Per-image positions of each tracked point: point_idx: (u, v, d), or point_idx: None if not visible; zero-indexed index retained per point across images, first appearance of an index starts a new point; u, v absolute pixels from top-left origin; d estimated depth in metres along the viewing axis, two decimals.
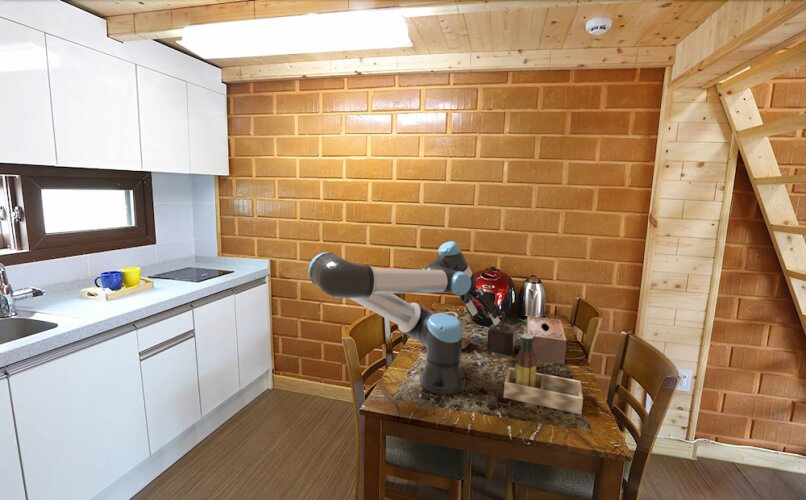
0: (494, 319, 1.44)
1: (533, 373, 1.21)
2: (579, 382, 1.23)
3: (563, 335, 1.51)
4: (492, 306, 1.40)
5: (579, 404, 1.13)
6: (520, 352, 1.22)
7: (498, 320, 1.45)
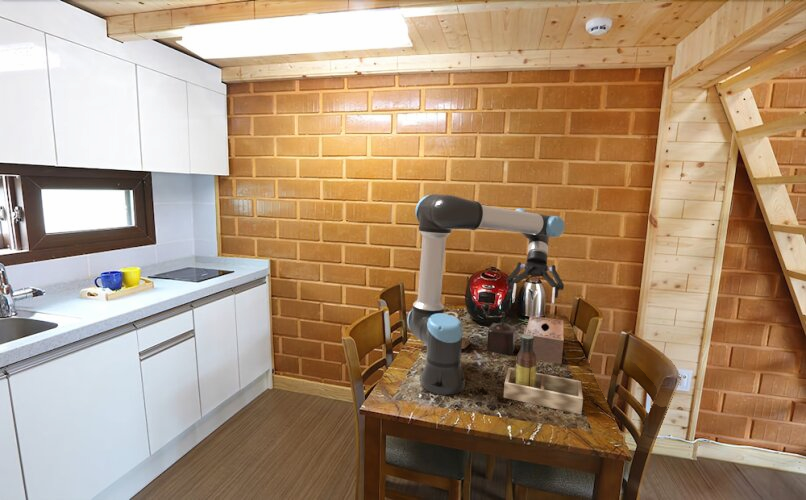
0: (554, 297, 1.35)
1: (533, 373, 1.21)
2: (579, 382, 1.23)
3: (561, 335, 1.51)
4: None
5: (579, 404, 1.13)
6: (520, 352, 1.22)
7: (553, 303, 1.35)
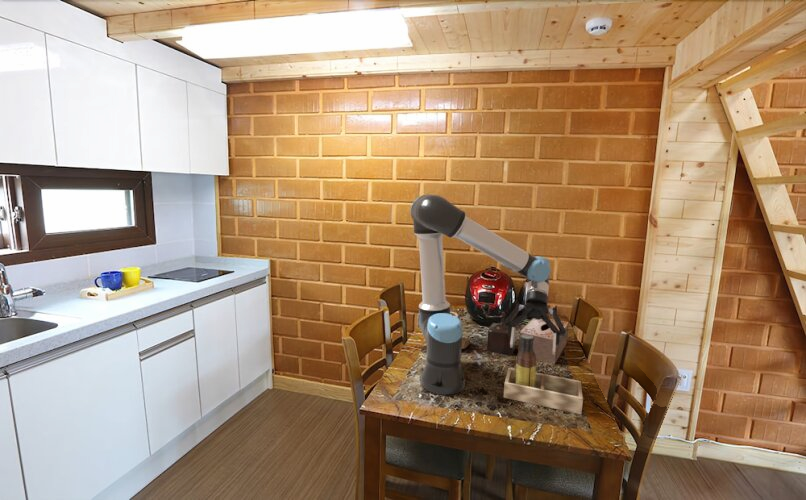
0: (555, 345, 1.25)
1: (533, 373, 1.21)
2: (579, 382, 1.23)
3: None
4: None
5: (579, 404, 1.13)
6: (520, 352, 1.22)
7: (554, 351, 1.25)
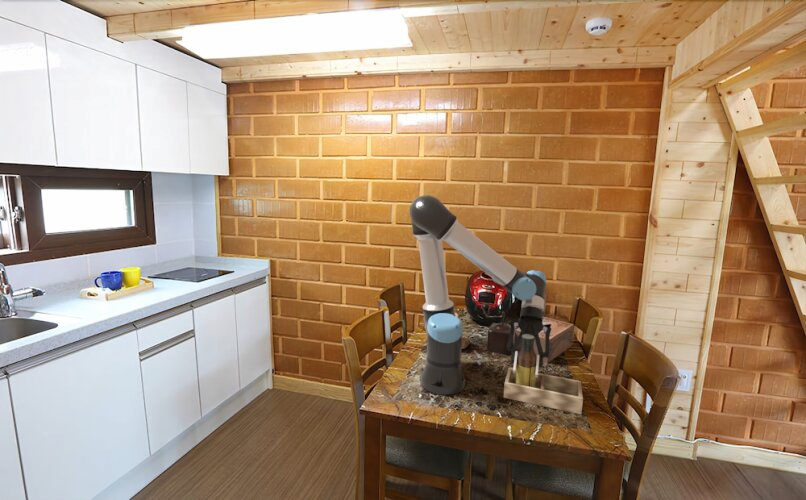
0: (538, 367, 1.20)
1: (533, 373, 1.21)
2: (579, 382, 1.23)
3: (553, 335, 1.50)
4: None
5: (579, 404, 1.13)
6: (521, 352, 1.22)
7: None
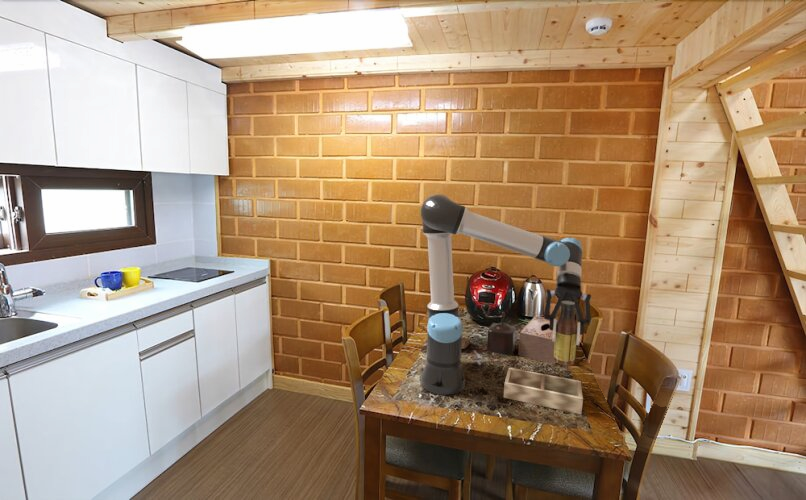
0: (579, 334, 1.14)
1: (574, 341, 1.15)
2: (579, 382, 1.23)
3: None
4: None
5: (579, 404, 1.13)
6: (560, 319, 1.16)
7: None
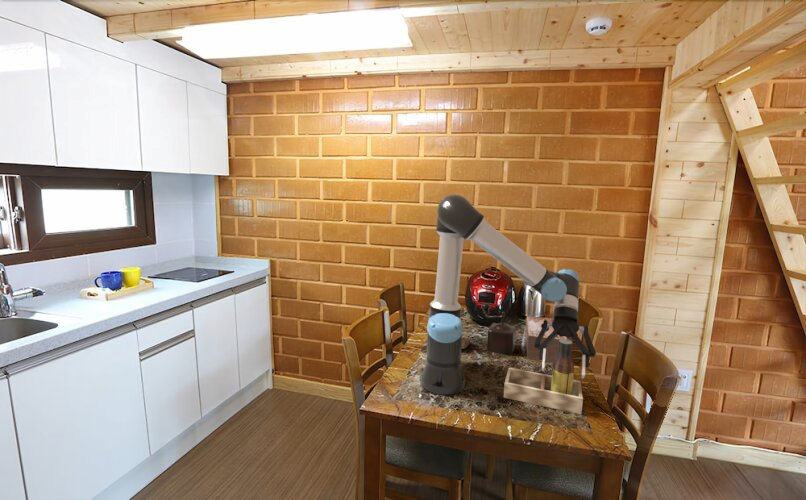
0: (584, 368, 1.16)
1: (571, 379, 1.17)
2: (579, 382, 1.23)
3: None
4: None
5: (579, 404, 1.13)
6: (558, 357, 1.18)
7: None
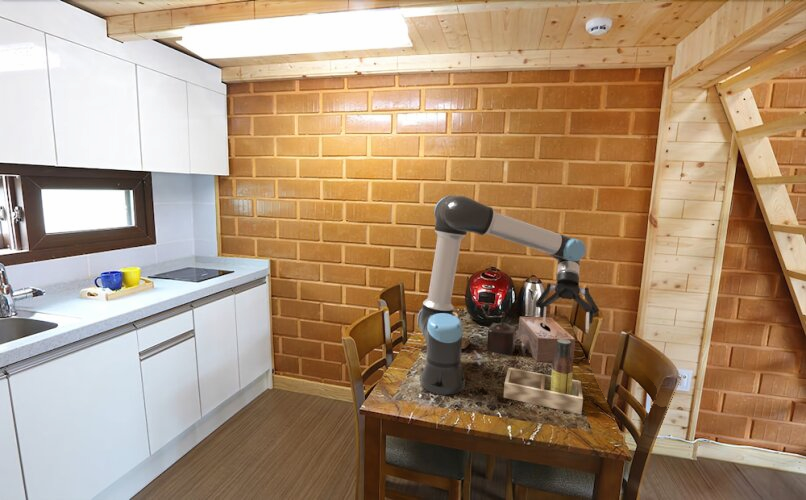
0: (588, 323, 1.26)
1: (570, 379, 1.17)
2: (579, 382, 1.23)
3: (568, 334, 1.52)
4: None
5: (579, 404, 1.13)
6: (556, 357, 1.18)
7: None
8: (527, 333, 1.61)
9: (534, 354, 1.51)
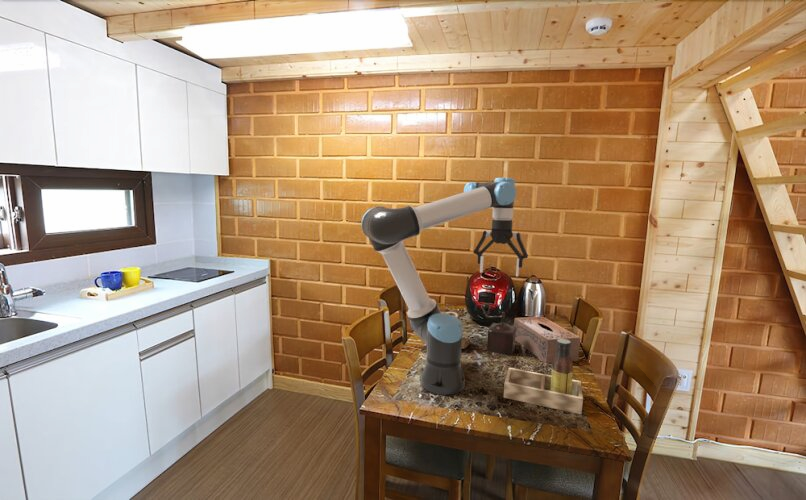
0: (518, 269, 1.42)
1: (570, 379, 1.17)
2: (579, 382, 1.23)
3: (570, 332, 1.54)
4: None
5: (579, 404, 1.13)
6: (556, 357, 1.18)
7: (518, 273, 1.43)
8: (529, 335, 1.59)
9: (542, 356, 1.50)
